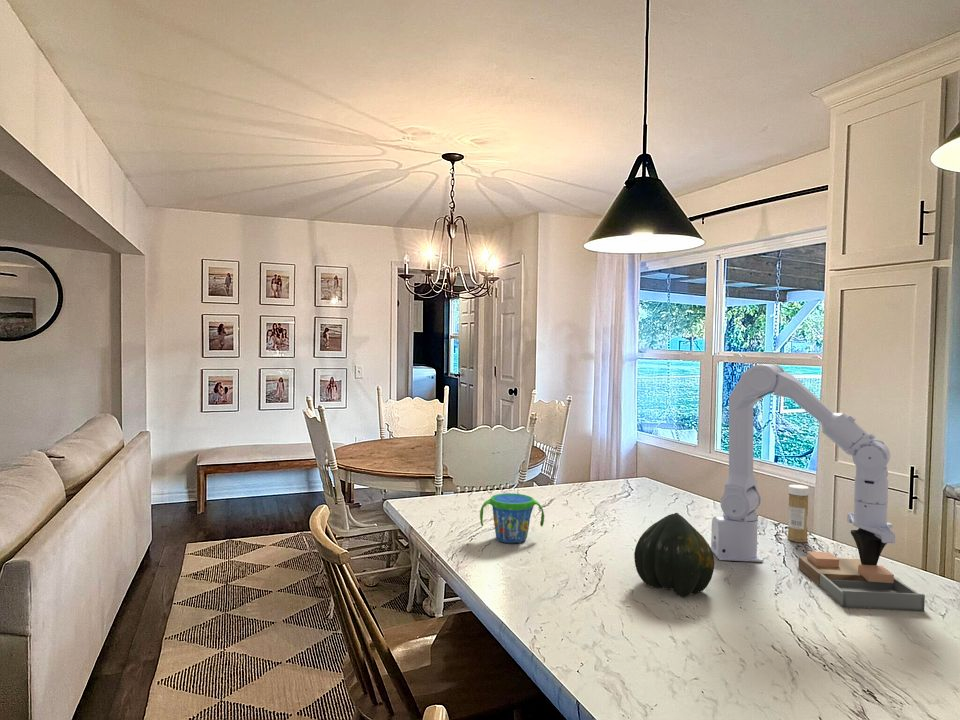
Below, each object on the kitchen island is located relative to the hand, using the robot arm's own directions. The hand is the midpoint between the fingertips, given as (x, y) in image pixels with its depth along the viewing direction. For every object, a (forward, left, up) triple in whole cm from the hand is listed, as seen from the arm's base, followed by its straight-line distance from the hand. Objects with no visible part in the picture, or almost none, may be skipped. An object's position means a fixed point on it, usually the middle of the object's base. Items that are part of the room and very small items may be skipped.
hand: (868, 567), depth 128 cm
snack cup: (-73, +19, -3) cm, 75 cm away
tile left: (-7, +4, -1) cm, 8 cm away
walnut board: (-4, +3, -3) cm, 6 cm away
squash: (-40, -7, -3) cm, 41 cm away
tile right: (0, -3, -1) cm, 3 cm away
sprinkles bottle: (-3, +28, -3) cm, 28 cm away
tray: (-4, -8, -3) cm, 9 cm away
